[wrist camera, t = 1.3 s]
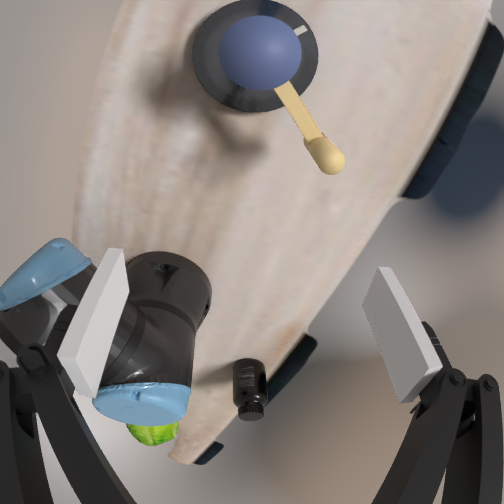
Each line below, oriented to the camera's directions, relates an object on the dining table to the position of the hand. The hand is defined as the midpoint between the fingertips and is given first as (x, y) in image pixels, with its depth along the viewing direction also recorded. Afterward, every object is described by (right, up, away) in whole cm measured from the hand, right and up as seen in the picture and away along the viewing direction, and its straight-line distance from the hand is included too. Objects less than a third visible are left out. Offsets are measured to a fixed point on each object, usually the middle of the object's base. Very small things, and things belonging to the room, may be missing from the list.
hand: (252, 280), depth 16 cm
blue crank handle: (+3, +18, +13) cm, 22 cm away
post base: (0, +24, +16) cm, 29 cm away
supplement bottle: (-1, -23, +48) cm, 53 cm away
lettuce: (-25, -35, +56) cm, 70 cm away
